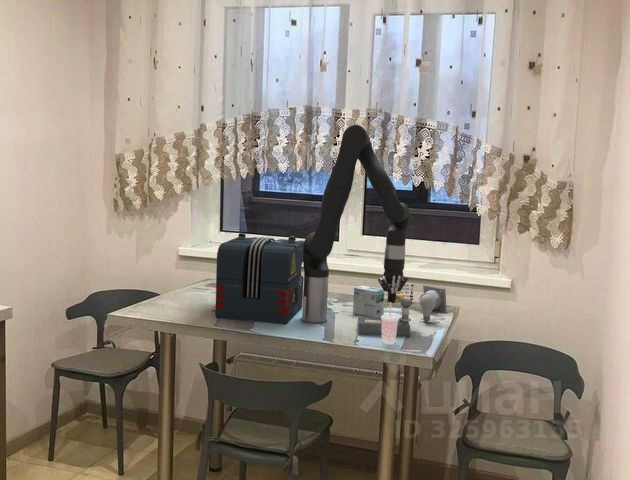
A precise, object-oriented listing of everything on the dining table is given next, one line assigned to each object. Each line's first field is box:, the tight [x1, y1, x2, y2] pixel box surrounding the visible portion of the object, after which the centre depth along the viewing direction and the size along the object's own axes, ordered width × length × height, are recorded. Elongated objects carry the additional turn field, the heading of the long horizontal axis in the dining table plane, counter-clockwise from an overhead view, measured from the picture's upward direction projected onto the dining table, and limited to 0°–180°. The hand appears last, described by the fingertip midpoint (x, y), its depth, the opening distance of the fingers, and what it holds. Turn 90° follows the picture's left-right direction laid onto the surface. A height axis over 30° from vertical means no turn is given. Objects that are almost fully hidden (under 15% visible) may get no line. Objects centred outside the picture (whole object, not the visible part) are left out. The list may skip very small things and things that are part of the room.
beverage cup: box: [380, 302, 400, 345], centre depth 229 cm, size 6×6×14 cm
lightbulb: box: [419, 294, 436, 323], centre depth 259 cm, size 6×6×11 cm
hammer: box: [396, 291, 412, 307], centre depth 249 cm, size 15×4×2 cm, turn 11°
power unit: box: [214, 232, 305, 325], centre depth 262 cm, size 28×28×30 cm
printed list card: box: [385, 284, 448, 313], centre depth 280 cm, size 27×11×10 cm, turn 83°
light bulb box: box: [352, 285, 386, 317], centre depth 267 cm, size 11×7×11 cm, turn 56°
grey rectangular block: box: [356, 306, 412, 338], centre depth 242 cm, size 19×10×9 cm, turn 89°
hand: (391, 302), depth 251 cm, fingers closed
